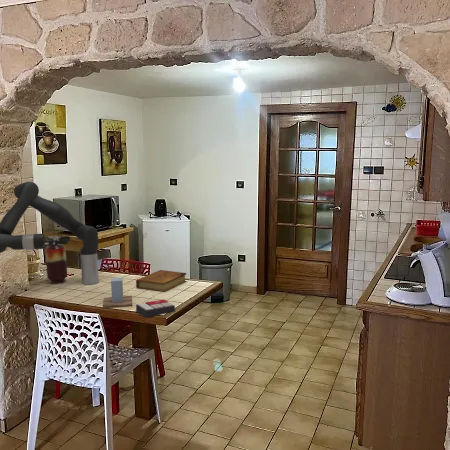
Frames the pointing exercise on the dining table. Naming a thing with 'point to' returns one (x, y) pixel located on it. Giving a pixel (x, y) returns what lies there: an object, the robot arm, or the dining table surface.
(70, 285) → the dining table surface
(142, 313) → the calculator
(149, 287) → the diary
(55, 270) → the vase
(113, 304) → the post stand
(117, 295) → the blue-grey rectangular block
